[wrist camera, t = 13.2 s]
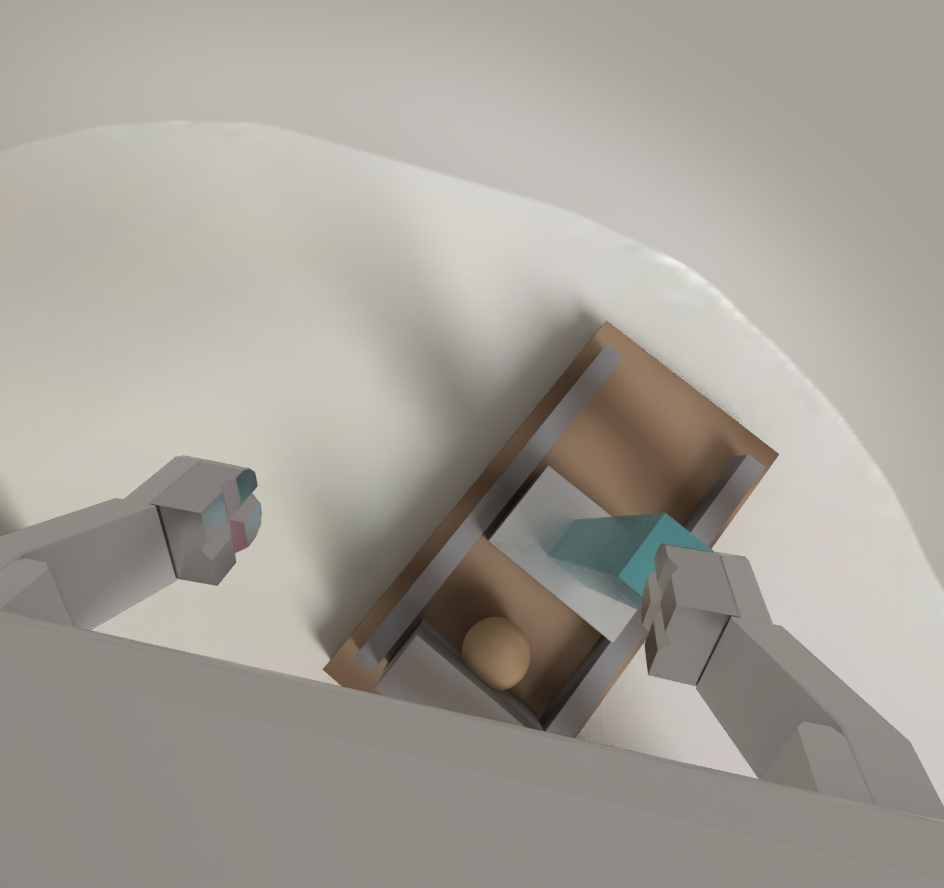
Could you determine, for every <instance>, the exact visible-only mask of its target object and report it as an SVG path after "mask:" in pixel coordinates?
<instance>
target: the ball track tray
mask: <svg viewBox="0 0 944 888" xmlns="http://www.w3.org/2000/svg"><path fill="white" fill-rule="evenodd" d="M778 455H779V454H778V453H777V452H776V451H774V450H773V449H772V448H771V447H769V446H768V445H767V444H765V443H764V442H763V441H761V440H760V439H759V438H758V437H756V436H755V435H754V434H752V433H751V432H750V431H748V430H747V429H746V428H745V427H743V426H742V425H741V424H739V423H738V422H737V421H736V420H734V419H733V418H732V417H730V416H729V415H728V414H726V413H725V412H724V411H723V410H721V409H720V408H719V407H717V406H716V405H715V404H714V403H712V402H711V401H710V400H708V399H707V398H706V397H704V396H703V395H702V394H701V393H699V392H698V391H697V390H695V389H694V388H693V387H692V386H690V385H689V384H688V383H686V382H685V381H684V380H682V379H681V378H680V377H679V376H677V375H676V374H675V373H673V372H672V371H671V370H670V369H668V368H667V367H666V366H664V365H663V364H662V363H660V362H659V361H658V360H657V359H655V358H654V357H653V356H651V355H650V354H649V353H648V352H646V351H645V350H644V349H642V348H641V347H640V346H638V345H637V344H636V343H635V342H633V341H632V340H631V339H629V338H628V337H627V336H626V335H624V334H623V333H622V332H620V331H619V330H618V329H616V328H615V327H614V326H613V325H611V324H610V323H609V322H607V321H606V322H605V323H604V325H603V326H602V327H601V328H600V330H599V331H598V332H597V333H596V334H595V336H594V337H593V338H592V339H591V341H590V342H589V343H588V344H587V346H586V347H585V348H584V349H583V350H582V352H581V353H580V354H579V355H578V357H577V358H576V359H575V360H574V361H573V363H572V364H571V365H570V366H569V368H568V369H567V370H566V371H565V373H564V374H563V375H562V376H561V377H560V379H559V380H558V381H557V382H556V384H555V385H554V386H553V387H552V389H551V390H550V391H549V392H548V393H547V395H546V396H545V397H544V398H543V400H542V401H541V402H540V403H539V404H538V406H537V407H536V408H535V409H534V411H533V412H532V413H531V414H530V416H529V417H528V418H527V419H526V420H525V422H524V423H523V424H522V425H521V427H520V428H519V429H518V430H517V432H516V433H515V434H514V435H513V436H512V438H511V439H510V440H509V441H508V443H507V444H506V445H505V446H504V447H503V449H502V450H501V451H500V452H499V454H498V455H497V456H496V457H495V459H494V460H493V461H492V462H491V463H490V465H489V466H488V467H487V468H486V470H485V471H484V472H483V473H482V475H481V476H480V477H479V478H478V479H477V481H476V482H475V483H474V484H473V486H472V487H471V488H470V489H469V490H468V492H467V493H466V494H465V495H464V497H463V498H462V499H461V500H460V502H459V503H458V504H457V505H456V506H455V508H454V509H453V510H452V511H451V513H450V514H449V515H448V516H447V518H446V519H445V520H444V521H443V522H442V524H441V525H440V526H439V527H438V529H437V530H436V531H435V532H434V533H433V535H432V536H431V537H430V538H429V540H428V541H427V542H426V543H425V545H424V546H423V547H422V548H421V549H420V551H419V552H418V553H417V554H416V556H415V557H414V558H413V559H412V561H411V562H410V563H409V564H408V565H407V567H406V568H405V569H404V570H403V572H402V573H401V574H400V575H399V576H398V578H397V579H396V580H395V581H394V583H393V584H392V585H391V586H390V588H389V589H388V590H387V591H386V592H385V594H384V595H383V596H382V597H381V599H380V600H379V601H378V602H377V604H376V605H375V606H374V607H373V608H372V610H371V611H370V612H369V613H368V615H367V616H366V617H365V618H364V619H363V621H362V622H361V623H360V624H359V626H358V627H357V628H356V629H355V631H354V632H353V633H352V634H351V635H350V637H349V638H348V639H347V640H346V642H345V643H344V644H343V645H342V647H341V648H340V649H339V650H338V651H337V653H336V654H335V655H334V656H333V658H332V659H331V660H330V661H329V662H328V664H327V665H326V666H325V667H324V669H323V670H324V671H325V672H326V673H327V674H329V675H330V676H331V677H332V678H333V679H334V680H335V681H337V682H338V683H339V684H340V685H341V686H342V687H347V688H351V689H356V690H360V691H365V692H369V693H374V694H378V695H383V696H387V697H392V698H396V699H401V700H405V701H410V702H414V703H419V704H423V705H428V706H432V707H437V708H441V709H446V710H450V711H455V712H459V713H464V714H468V715H473V716H477V717H482V718H486V719H491V720H495V721H500V722H504V723H509V724H513V725H518V726H522V727H527V728H531V729H536V730H540V731H545V732H549V733H553V734H558V735H562V736H567V737H571V738H576V736H577V735H578V733H579V732H580V731H581V729H582V728H583V727H584V725H585V724H586V722H587V721H588V720H589V718H590V717H591V715H592V714H593V713H594V711H595V710H596V708H597V707H598V706H599V704H600V703H601V701H602V700H603V699H604V697H605V696H606V695H607V693H608V692H609V690H610V689H611V688H612V686H613V685H614V683H615V682H616V681H617V679H618V678H619V676H620V675H621V674H622V672H623V671H624V670H625V668H626V667H627V665H628V664H629V663H630V661H631V660H632V658H633V657H634V656H635V654H636V653H637V651H638V650H639V649H640V647H641V646H642V644H643V643H644V642H645V640H646V639H647V636H648V634H649V632H648V631H647V630H646V629H645V627H644V626H643V625H642V615H641V611H639V610H637V611H636V612H635V614H634V615H633V616H632V618H631V619H630V620H629V622H628V623H627V625H626V626H625V627H624V629H623V630H622V631H621V633H620V634H619V636H618V637H617V638H616V640H615V641H614V642H613V643H612V642H611V641H609V640H608V639H607V638H605V637H604V636H602V635H601V634H600V633H598V632H597V631H596V630H594V629H593V628H592V627H591V626H590V625H588V624H587V623H586V622H585V621H584V620H582V619H581V618H580V617H579V616H577V615H576V614H575V613H574V612H573V611H571V610H570V609H569V608H568V607H566V606H565V605H564V604H563V603H562V602H560V601H559V600H558V599H557V598H556V597H554V596H553V595H552V594H551V593H549V592H548V591H547V590H546V589H545V588H543V587H542V586H541V585H540V584H539V583H537V582H536V581H535V580H534V579H532V578H531V577H530V576H529V575H528V574H526V573H525V572H524V571H523V570H522V569H520V568H519V567H518V566H517V565H515V564H514V563H513V562H512V561H511V560H509V559H508V558H507V557H506V556H505V555H503V554H502V553H501V552H500V551H498V550H497V549H496V548H495V547H494V546H492V545H491V544H490V543H489V542H488V541H486V538H487V537H488V536H489V534H490V533H491V532H492V531H493V529H494V528H495V527H496V526H497V524H498V523H499V522H500V521H501V519H502V518H503V517H504V516H505V514H506V513H507V512H508V511H509V509H510V508H511V507H512V506H513V504H514V503H515V502H516V501H517V499H518V498H519V497H520V496H521V494H522V493H523V492H524V490H525V489H526V488H527V487H528V485H529V484H530V483H531V482H532V480H533V479H534V478H535V477H536V475H537V474H538V473H539V472H540V471H541V470H543V469H544V468H546V467H547V466H550V467H551V468H552V469H553V470H555V471H556V472H557V473H558V474H560V475H561V476H562V477H563V478H564V479H566V480H567V481H568V482H569V483H571V484H572V485H573V486H574V487H576V488H577V489H578V490H579V491H581V492H582V493H583V494H584V495H586V496H587V497H588V498H589V499H591V500H592V501H593V502H594V503H596V504H597V505H598V506H599V507H601V508H602V509H603V510H604V511H606V512H607V513H608V514H609V515H611V516H612V517H613V516H627V515H641V514H655V513H666V514H667V515H669V516H670V517H671V518H673V519H674V520H675V521H676V522H678V523H679V524H680V525H681V526H683V527H684V528H685V529H686V530H688V531H689V532H690V533H691V534H693V535H694V536H695V537H696V538H698V539H699V540H700V541H701V542H703V543H704V544H705V545H706V546H708V547H709V548H710V549H712V547H713V546H714V544H715V543H716V542H717V540H718V539H719V537H720V536H721V535H722V533H723V532H724V531H725V529H726V528H727V526H728V525H729V524H730V522H731V521H732V519H733V518H734V517H735V515H736V514H737V512H738V511H739V510H740V508H741V507H742V505H743V504H744V503H745V501H746V500H747V499H748V497H749V496H750V494H751V493H752V492H753V490H754V489H755V487H756V486H757V485H758V483H759V482H760V480H761V479H762V478H763V476H764V475H765V474H766V472H767V471H768V469H769V468H770V467H771V465H772V464H773V462H774V461H775V460H776V458H777V457H778Z"/></svg>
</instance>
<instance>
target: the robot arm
mask: <svg viewBox="0 0 944 888" xmlns="http://www.w3.org/2000/svg"><path fill="white" fill-rule="evenodd" d="M257 486H258V485H257V480H256V475H255V472H254V471H252V470H251V469H250V468H245V467H240V466H235V465H231V464H226V463H221V462H216V461H211V460H204V459H200V458H195V457H190V456H184V455H183V456H178V457H175V458H174V459H173V460H171V461H170V462H169V463H168V464H166V465H165V466H164V467H163V468H161V469H160V470H159V471H158V472H157V473H155V474H154V475H153V476H152V477H150V478H149V479H148V480H147V481H146V482H144V483H143V484H142V485H141V486H139V487H138V488H137V489H136V490H134V491H133V492H132V493H131V494H130V495H128V496H127V497H126V498H125V499H118V498H115V499H112V500H109V501H106V502H103V503H100V504H97V505H94V506H91V507H88V508H85V509H82V510H78V511H75V512H72V513H69V514H66V515H63V516H60V517H57V518H54V519H51V520H48V521H45V522H42V523H39V524H36V525H33V526H30V527H27V528H24V529H21V530H17V531H14V532H11V533H8V534H5V535H2V536H0V888H944V806H943V804H942V802H941V800H940V798H939V797H938V795H937V793H936V791H935V789H934V787H933V785H932V783H931V781H930V779H929V777H928V775H927V773H926V771H925V770H924V768H923V766H922V764H921V762H920V760H919V758H918V756H917V754H916V752H915V750H914V748H913V746H912V744H911V743H910V741H909V740H908V739H906V738H905V737H904V736H903V735H902V734H901V733H900V732H899V731H898V730H896V729H895V728H894V727H893V726H892V725H891V724H890V723H889V722H888V721H886V720H885V719H884V718H883V717H882V716H881V715H880V714H879V713H878V712H876V711H875V710H874V709H873V708H872V707H871V706H870V705H869V704H868V703H867V702H865V701H864V700H863V699H862V698H861V697H860V696H859V695H858V694H857V693H855V692H854V691H853V690H852V689H851V688H850V687H849V686H848V685H847V684H845V683H844V682H843V681H842V680H841V679H840V678H839V677H838V676H837V675H835V674H834V673H833V672H832V671H831V670H830V669H829V668H828V667H827V666H825V665H824V664H823V663H822V662H821V661H820V660H819V659H818V658H817V657H815V656H814V655H813V654H812V653H811V652H810V651H809V650H808V649H807V648H805V647H804V646H803V645H802V644H801V643H800V642H799V641H798V640H797V639H795V638H794V637H793V636H792V635H791V634H790V633H789V632H788V631H787V630H785V629H784V628H783V627H782V626H779V625H774V624H773V623H772V620H771V618H770V615H769V612H768V610H767V607H766V604H765V602H764V599H763V597H762V594H761V591H760V589H759V586H758V583H757V581H756V578H755V575H754V573H753V570H752V568H751V565H750V562H749V560H748V559H747V558H746V557H745V556H739V555H732V554H726V553H720V552H716V553H714V552H709V551H703V550H698V549H692V548H686V547H681V546H675V545H669V544H664V543H661V544H660V546H659V547H658V549H657V552H656V554H655V557H654V563H655V570H656V571H655V572H653V573H652V574H650V575H649V576H648V577H647V580H646V583H645V586H644V590H643V597H642V603H641V615H642V625H643V626H644V627H645V629H646V630H647V631H648V632H649V634H648V636H647V639H646V642H645V652H646V661H647V669H648V675H650V676H655V677H659V678H663V679H668V680H672V681H676V682H680V683H685V684H689V685H693V686H697V687H696V689H697V691H698V692H699V694H700V695H701V697H702V698H703V699H704V701H705V702H706V704H707V705H708V707H709V708H710V709H711V711H712V712H713V714H714V715H715V717H716V718H717V720H718V721H719V722H720V724H721V725H722V727H723V728H724V730H725V731H726V732H727V734H728V735H729V737H730V738H731V740H732V741H733V743H734V744H735V745H736V747H737V748H738V750H739V751H740V753H741V754H742V755H743V757H744V758H745V760H746V761H747V763H748V764H749V766H750V767H751V768H752V770H753V771H754V773H755V774H756V776H757V777H758V778H759V779H756V778H751V777H747V776H742V775H738V774H733V773H729V772H724V771H720V770H715V769H711V768H706V767H702V766H697V765H693V764H688V763H684V762H679V761H675V760H670V759H666V758H661V757H657V756H652V755H648V754H643V753H639V752H634V751H630V750H625V749H621V748H616V747H612V746H607V745H603V744H598V743H594V742H589V741H585V740H580V739H576V738H571V737H567V736H562V735H558V734H553V733H549V732H545V731H540V730H536V729H531V728H527V727H522V726H518V725H513V724H509V723H504V722H500V721H495V720H491V719H486V718H482V717H477V716H473V715H468V714H464V713H459V712H455V711H450V710H446V709H441V708H437V707H432V706H428V705H423V704H419V703H414V702H410V701H405V700H401V699H396V698H392V697H387V696H383V695H378V694H374V693H369V692H365V691H360V690H356V689H351V688H347V687H342V686H338V685H333V684H329V683H324V682H320V681H315V680H311V679H306V678H302V677H297V676H293V675H288V674H284V673H279V672H275V671H270V670H266V669H261V668H257V667H252V666H248V665H243V664H239V663H234V662H230V661H225V660H221V659H216V658H212V657H207V656H203V655H198V654H194V653H189V652H185V651H180V650H176V649H171V648H167V647H162V646H158V645H153V644H149V643H144V642H140V641H135V640H131V639H126V638H122V637H117V636H113V635H108V634H104V633H99V632H95V631H90V630H92V629H94V628H95V627H97V626H99V625H101V624H102V623H104V622H106V621H108V620H109V619H111V618H113V617H115V616H116V615H118V614H120V613H122V612H123V611H125V610H127V609H128V608H130V607H132V606H134V605H135V604H137V603H139V602H141V601H142V600H144V599H146V598H148V597H149V596H151V595H153V594H155V593H156V592H158V591H160V590H161V589H163V588H165V587H167V586H168V585H170V584H172V583H174V582H175V581H176V579H182V580H187V581H193V582H199V583H204V584H210V585H215V586H218V584H219V583H220V582H221V581H222V579H223V578H224V577H225V576H226V574H227V573H228V572H229V571H230V569H231V568H232V567H233V566H234V564H235V563H236V557H235V553H237V552H239V551H241V550H243V549H245V548H247V547H249V545H250V544H251V543H252V541H253V540H254V539H255V537H256V535H257V532H258V529H259V527H260V524H261V514H262V512H261V505H260V502H259V501H258V500H257V499H256V497H255V496H254V495H253V494H252V492H253V491H254V490H255V489H256V487H257Z"/></svg>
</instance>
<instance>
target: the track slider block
mask: <svg viewBox="0 0 944 888" xmlns="http://www.w3.org/2000/svg"><path fill="white" fill-rule="evenodd" d="M486 541H488V542H489V543H490V544H491V545H492V546H494V547H495V548H496V549H497V550H498V551H500V552H501V553H502V554H503V555H505V556H506V557H507V558H508V559H509V560H511V561H512V562H513V563H514V564H515V565H517V566H518V567H519V568H520V569H522V570H523V571H524V572H525V573H526V574H528V575H529V576H530V577H531V578H532V579H534V580H535V581H536V582H537V583H539V584H540V585H541V586H542V587H543V588H545V589H546V590H547V591H548V592H549V593H551V594H552V595H553V596H554V597H556V598H557V599H558V600H559V601H560V602H562V603H563V604H564V605H565V606H566V607H568V608H569V609H570V610H571V611H573V612H574V613H575V614H576V615H577V616H579V617H580V618H581V619H582V620H584V621H585V622H586V623H587V624H588V625H590V626H591V627H592V628H593V629H594V630H596V631H597V632H598V633H600V634H601V635H602V636H604V637H605V638H607V639H608V640H609V641H611V642H612V643H613V642H614V641H615V640H616V638H617V637H618V636H619V634H620V633H621V631H622V630H623V629H624V627H625V626H626V625H627V623H628V622H629V620H630V619H631V618H632V616H633V615H634V614H635V612H636V611H637V610H639V611H641V603H642V597H643V590H644V586H645V583H646V580H647V577H648V576H649V575H650V574H652V573H653V572H655V571H656V570H655V563H654V557H655V554H656V552H657V549H658V547H659V546H660V544H661V543H664V544H669V545H675V546H681V547H686V548H692V549H698V550H703V551H709V552H714V551H713V550H711V549H710V548H709V547H708V546H706V545H705V544H704V543H703V542H701V541H700V540H699V539H698V538H696V537H695V536H694V535H693V534H691V533H690V532H689V531H688V530H686V529H685V528H684V527H683V526H681V525H680V524H679V523H678V522H676V521H675V520H674V519H673V518H671V517H670V516H669V515H667V514H666V513H655V514H641V515H627V516H613V517H612V516H611V515H609V514H608V513H607V512H606V511H604V510H603V509H602V508H601V507H599V506H598V505H597V504H596V503H594V502H593V501H592V500H591V499H589V498H588V497H587V496H586V495H584V494H583V493H582V492H581V491H579V490H578V489H577V488H576V487H574V486H573V485H572V484H571V483H569V482H568V481H567V480H566V479H564V478H563V477H562V476H561V475H560V474H558V473H557V472H556V471H555V470H553V469H552V468H551V467H550V466H547V467H546V468H544V469H543V470H541V471H540V472H539V473H538V474H537V475H536V477H535V478H534V479H533V480H532V482H531V483H530V484H529V485H528V487H527V488H526V489H525V490H524V492H523V493H522V494H521V496H520V497H519V498H518V499H517V501H516V502H515V503H514V504H513V506H512V507H511V508H510V509H509V511H508V512H507V513H506V514H505V516H504V517H503V518H502V519H501V521H500V522H499V523H498V524H497V526H496V527H495V528H494V529H493V531H492V532H491V533H490V534H489V536H488V537H487V538H486ZM714 553H715V552H714Z"/></svg>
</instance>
